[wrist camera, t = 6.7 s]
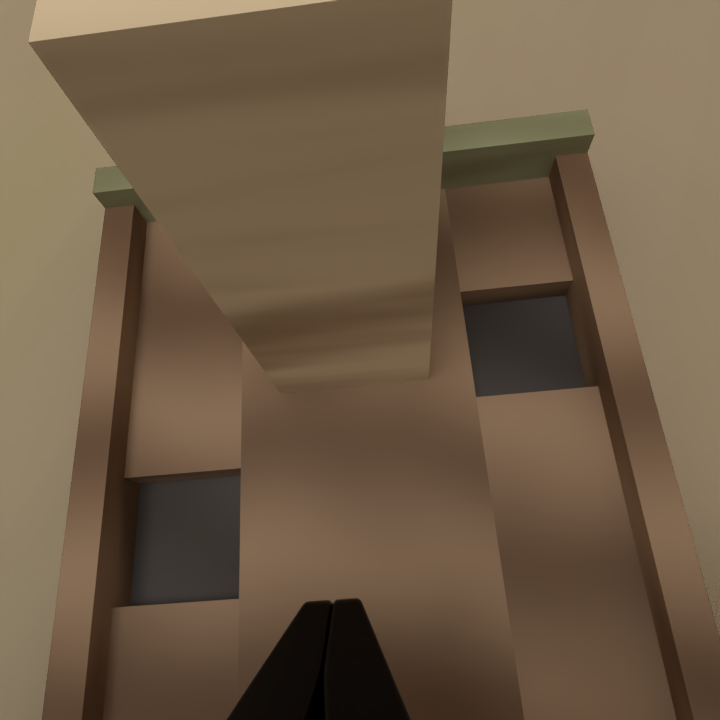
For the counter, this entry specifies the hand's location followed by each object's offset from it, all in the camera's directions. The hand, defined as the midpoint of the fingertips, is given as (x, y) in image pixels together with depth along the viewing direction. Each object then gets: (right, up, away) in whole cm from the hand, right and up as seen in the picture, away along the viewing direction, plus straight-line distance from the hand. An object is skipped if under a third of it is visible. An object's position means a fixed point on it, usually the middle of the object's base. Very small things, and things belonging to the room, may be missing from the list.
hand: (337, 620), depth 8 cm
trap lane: (0, +1, +9) cm, 9 cm away
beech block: (0, +6, +10) cm, 11 cm away
